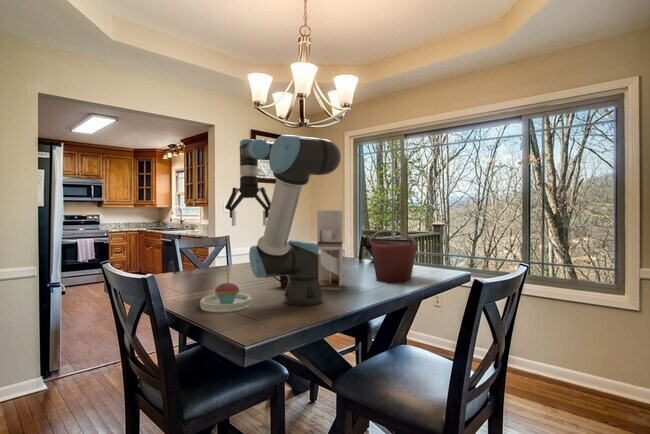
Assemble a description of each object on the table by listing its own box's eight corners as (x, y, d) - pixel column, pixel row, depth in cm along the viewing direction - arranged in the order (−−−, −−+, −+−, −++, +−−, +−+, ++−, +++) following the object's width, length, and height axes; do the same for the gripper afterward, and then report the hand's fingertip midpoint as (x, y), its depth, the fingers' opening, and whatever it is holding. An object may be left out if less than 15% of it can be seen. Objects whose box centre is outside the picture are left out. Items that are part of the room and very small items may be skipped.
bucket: (359, 279, 180) (360, 230, 179) (386, 273, 195) (386, 228, 194) (400, 287, 162) (400, 232, 161) (426, 280, 177) (426, 230, 176)
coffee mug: (298, 284, 166) (298, 263, 166) (295, 289, 157) (295, 266, 157) (274, 284, 167) (274, 263, 167) (270, 288, 158) (269, 266, 158)
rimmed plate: (260, 301, 136) (260, 295, 136) (232, 314, 119) (232, 307, 119) (221, 297, 142) (221, 291, 142) (189, 309, 125) (189, 302, 125)
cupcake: (218, 299, 134) (217, 268, 134) (240, 299, 135) (240, 268, 135) (212, 306, 126) (212, 272, 126) (236, 305, 126) (236, 272, 126)
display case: (319, 284, 167) (319, 210, 166) (342, 284, 166) (342, 210, 165) (317, 289, 156) (317, 210, 155) (341, 290, 155) (341, 210, 154)
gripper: (279, 176, 154) (279, 225, 155) (224, 177, 157) (224, 225, 157) (275, 174, 147) (275, 225, 147) (217, 175, 149) (217, 226, 149)
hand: (249, 225), depth 152 cm, fingers open, 13 cm apart
